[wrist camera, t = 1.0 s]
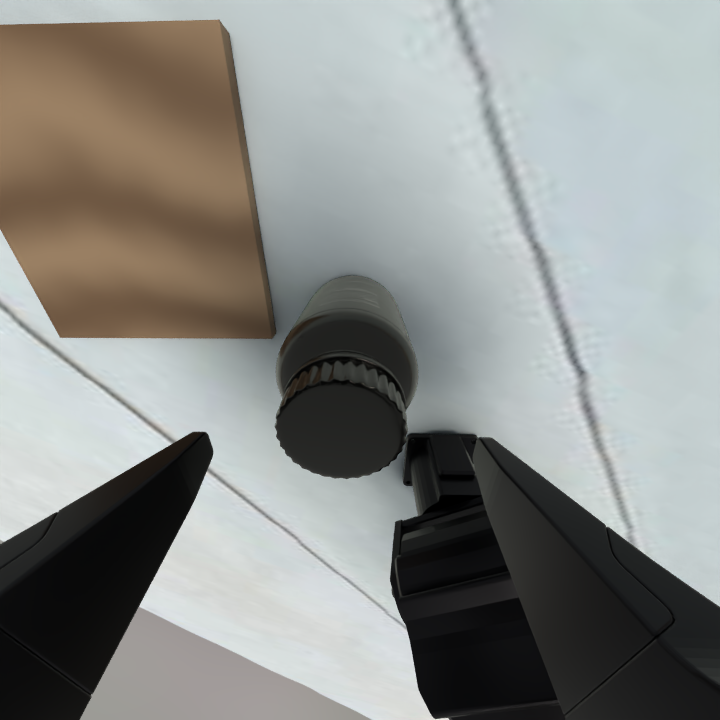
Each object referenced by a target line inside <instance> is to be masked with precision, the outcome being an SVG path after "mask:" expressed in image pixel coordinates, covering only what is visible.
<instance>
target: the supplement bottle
mask: <svg viewBox="0 0 720 720" xmlns="http://www.w3.org/2000/svg"><path fill="white" fill-rule="evenodd" d="M276 380H277V385H278V389H279V392H280V394H281V397H282V401H281V404H280V407H279V409H278V411H277V414H276V420H277V421H276V423H275V428H276V430H277V435H276V437H277V438H278V440H279V441H280V446H281V447H282V448H283V449H284V450H285V453H286V455H287V456H289V457H291V459H292V460H293V462H295V463H297V464H299V465H300V466H301V467H302V468H303V469H307V470H309V471H311V472H312V473H316V474H320V475H322V476H325V477H332V478H345V479H348V478H359V477H361V476H366V475H370V474H372V473H373V472H378V471H380V470H381V469H382V468H383V467H386V466H389V464H390V462H391V461H393V460H395V459H396V458H397V455H398V454H399V453H400V452H401V451H402V448H403V445H404V444H405V442H406V434H407V432H408V427H407V417H406V409H407V408H408V406H409V405H410V403H411V401H412V399H413V397H414V395H415V392H416V389H417V384H418V365H417V360H416V356H415V353H414V350H413V347H412V344H411V342H410V339H409V336H408V334H407V331H406V328H405V325H404V323H403V320H402V317H401V314H400V312H399V309H398V306H397V304H396V302H395V300H394V298H393V297H392V295H391V294H390V293H389V292H388V291H387V290H386V289H385V288H384V287H383V286H382V285H381V284H379V283H378V282H376V281H374V280H372V279H369V278H366V277H362V276H343V277H339V278H336V279H333V280H331V281H329V282H328V283H326V284H325V285H323V286H322V287H321V288H320V289H319V290H318V291H317V292H316V293H315V295H314V296H313V297H312V299H311V300H310V302H309V303H308V305H307V306H306V308H305V309H304V311H303V312H302V314H301V316H300V317H299V319H298V320H297V322H296V323H295V325H294V326H293V328H292V329H291V331H290V333H289V334H288V336H287V337H286V339H285V341H284V343H283V345H282V347H281V349H280V352H279V354H278V358H277V363H276Z"/></svg>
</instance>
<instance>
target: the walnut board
mask: <svg viewBox="0 0 720 720" xmlns="http://www.w3.org/2000/svg"><path fill="white" fill-rule="evenodd" d="M0 229H1V231H2V233H3V235H4V237H5V239H6V240H7V242H8V244H9V246H10V248H11V249H12V251H13V253H14V255H15V257H16V258H17V260H18V262H19V264H20V266H21V267H22V269H23V271H24V273H25V275H26V277H27V278H28V280H29V282H30V284H31V286H32V287H33V289H34V291H35V293H36V295H37V296H38V298H39V300H40V302H41V304H42V305H43V307H44V309H45V311H46V313H47V315H48V316H49V318H50V320H51V322H52V324H53V325H54V327H55V329H56V331H57V333H58V334H59V336H60V338H246V339H272V338H273V337H274V336H275V334H276V329H275V323H274V317H273V310H272V304H271V298H270V291H269V285H268V278H267V272H266V266H265V259H264V253H263V247H262V240H261V234H260V228H259V221H258V215H257V208H256V202H255V196H254V189H253V183H252V177H251V170H250V164H249V157H248V151H247V145H246V138H245V132H244V126H243V119H242V113H241V107H240V100H239V94H238V87H237V81H236V75H235V68H234V62H233V56H232V49H231V43H230V36H229V33H228V31H227V30H226V28H225V27H224V26H223V24H222V23H221V22H220V20H193V21H148V22H104V23H60V24H16V25H0Z"/></svg>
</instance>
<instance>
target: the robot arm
mask: <svg viewBox="0 0 720 720" xmlns="http://www.w3.org/2000/svg"><path fill="white" fill-rule="evenodd" d="M412 439H414V440H412ZM473 440H474V441H473ZM212 457H213V448H212V445H211V442H210V439H209V436H208V434H207V433H206V432H192V433H190V434H188V435H187V436H185V437H183V438H182V439H180V440H178V441H177V442H175V443H173V444H171V445H170V446H168V447H166V448H165V449H163V450H161V451H159V452H158V453H156V454H154V455H153V456H151V457H149V458H148V459H146V460H144V461H142V462H141V463H139V464H137V465H136V466H134V467H132V468H131V469H129V470H127V471H125V472H124V473H122V474H120V475H119V476H117V477H115V478H113V479H112V480H110V481H108V482H107V483H105V484H103V485H102V486H100V487H98V488H96V489H95V490H93V491H91V492H90V493H88V494H86V495H85V496H83V497H81V498H79V499H78V500H76V501H74V502H73V503H71V504H69V505H67V506H66V507H64V508H62V509H61V510H59V512H56V513H54V514H52V515H50V516H49V517H47V518H45V519H44V520H42V521H40V522H38V523H37V524H35V525H33V526H32V527H30V528H28V529H26V530H25V531H23V532H21V533H19V534H18V535H16V536H14V537H12V538H11V539H9V540H7V541H5V542H3V543H2V544H0V720H80V718H81V716H82V714H83V712H84V710H85V708H86V706H87V704H88V702H89V701H90V699H91V694H93V692H94V691H95V689H96V687H97V685H98V683H99V681H100V679H101V677H102V675H103V674H104V672H105V670H106V668H107V666H108V664H109V662H110V660H111V658H112V656H113V655H114V653H115V651H116V649H117V647H118V645H119V643H120V641H121V639H122V638H123V636H124V634H125V632H126V630H127V628H128V626H129V624H130V622H131V620H132V619H133V617H134V614H135V613H136V611H137V609H138V607H139V605H140V603H141V601H142V600H143V598H144V596H145V594H146V592H147V590H148V588H149V586H150V584H151V582H152V581H153V579H154V577H155V575H156V573H157V571H158V569H159V567H160V565H161V564H162V562H163V560H164V558H165V556H166V554H167V552H168V550H169V548H170V546H171V545H172V543H173V541H174V539H175V537H176V535H177V533H178V531H179V529H180V527H181V526H182V524H183V522H184V520H185V518H186V516H187V514H188V512H189V510H190V508H191V506H192V504H193V502H194V500H195V498H196V496H197V494H198V491H199V489H200V486H201V484H202V481H203V479H204V476H205V474H206V472H207V469H208V467H209V464H210V462H211V459H212ZM473 464H474V465H473ZM403 483H404V485H406V486H413V490H414V495H415V501H416V507H417V513H418V516H416V517H413V518H410V519H407V520H404V521H403V520H399V521H396V522H395V531H394V540H393V551H392V563H391V575H390V582H391V586H392V595H393V597H394V598H395V601H396V604H397V608H398V610H399V613H400V616H401V618H402V620H403V621H404V623H405V624H406V627H407V631H408V635H409V639H410V644H411V649H412V654H413V660H414V666H415V672H416V678H417V684H418V689H419V691H420V694H421V696H422V698H423V700H424V702H425V704H426V706H427V708H428V710H429V712H430V713H431V715H432V716H433V718H435V719H440V718H449V720H720V607H719V606H718V605H716V604H715V603H713V602H712V601H710V600H709V599H708V598H706V597H705V596H703V595H702V594H700V593H699V592H697V591H696V590H694V589H693V588H692V587H690V586H689V585H687V584H686V583H684V582H683V581H681V580H680V579H679V578H677V577H676V576H674V575H673V574H672V573H670V572H669V571H667V570H666V569H664V568H663V567H662V566H660V565H659V564H657V563H656V562H655V561H653V560H652V559H650V558H649V557H648V556H646V555H645V554H644V553H642V552H641V551H640V550H638V549H637V548H636V547H634V546H633V545H632V544H630V543H629V542H628V541H626V540H625V539H624V538H622V537H621V536H620V535H618V534H617V533H616V532H614V531H613V530H612V529H610V528H609V527H606V525H605V524H604V523H603V522H601V521H600V520H599V519H597V518H596V517H595V516H593V515H592V514H591V513H589V512H588V511H587V510H586V509H584V508H583V507H582V506H580V505H579V504H578V503H576V502H575V501H574V500H572V499H571V498H570V497H569V496H567V495H566V494H565V493H563V492H562V491H561V490H559V489H558V488H557V487H555V486H554V485H553V484H552V483H550V482H549V481H548V480H546V479H545V478H544V477H542V476H541V475H540V474H539V473H537V472H536V471H535V470H533V469H532V468H531V467H529V466H528V465H527V464H525V463H524V462H523V461H522V460H520V459H519V458H518V457H516V456H515V455H514V454H512V453H511V452H510V451H508V450H507V449H506V448H505V447H503V446H502V445H501V444H499V443H498V442H497V441H495V440H494V439H493V438H490V437H479V438H478V437H477V436H476V435H438V434H411V435H409V436H408V437H407V442H406V452H405V462H404V472H403Z"/></svg>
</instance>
